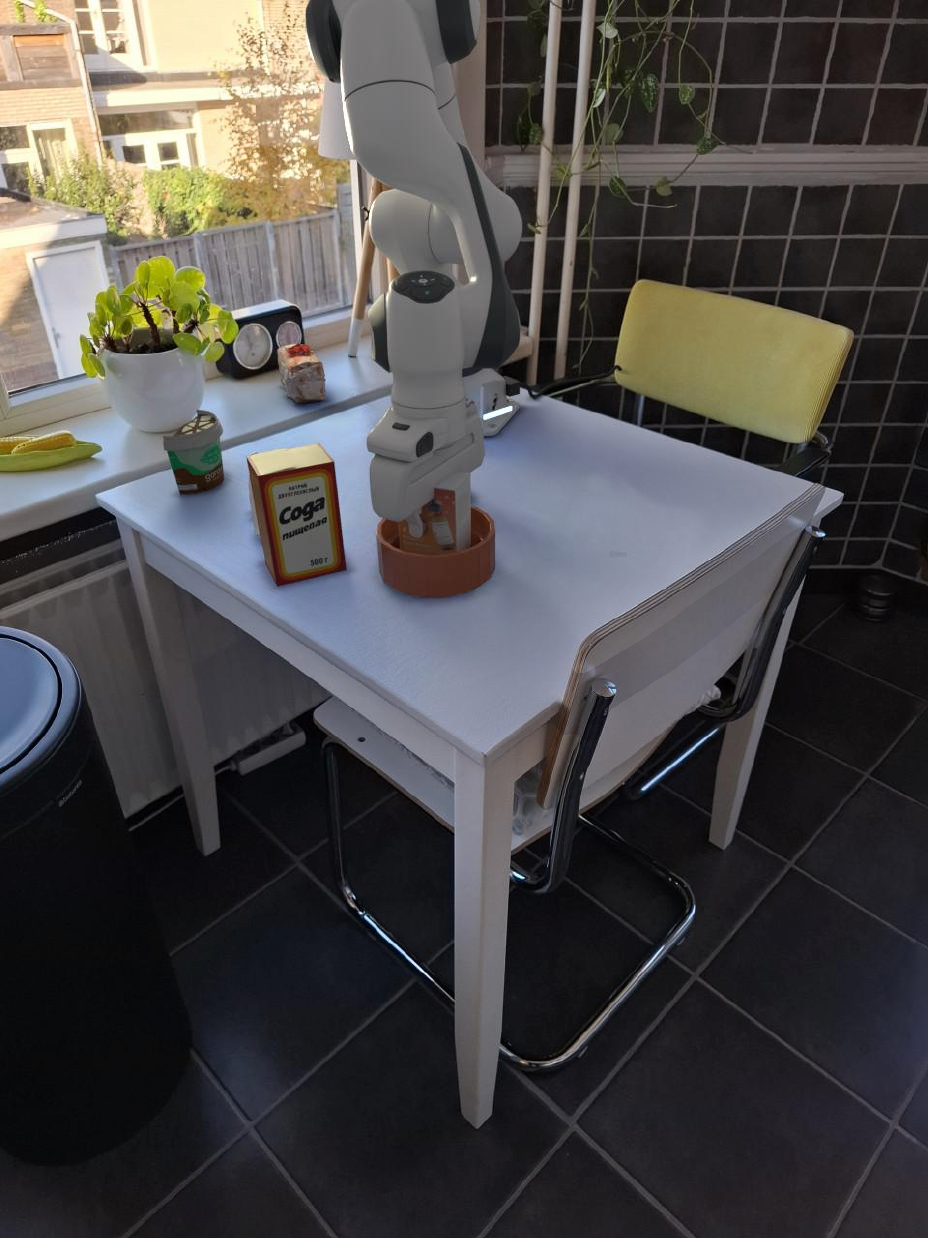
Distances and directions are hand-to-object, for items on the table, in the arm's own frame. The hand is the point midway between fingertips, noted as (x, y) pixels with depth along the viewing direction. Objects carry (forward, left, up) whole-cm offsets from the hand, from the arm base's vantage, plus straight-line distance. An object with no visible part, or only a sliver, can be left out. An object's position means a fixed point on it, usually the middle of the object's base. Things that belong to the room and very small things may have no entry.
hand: (434, 522), depth 111 cm
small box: (0, 0, -4) cm, 4 cm away
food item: (-44, -61, -7) cm, 76 cm away
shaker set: (+2, -28, -7) cm, 29 cm away
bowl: (0, 0, -7) cm, 7 cm away
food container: (-5, -47, -7) cm, 48 cm away
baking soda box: (+8, -16, -7) cm, 19 cm away
